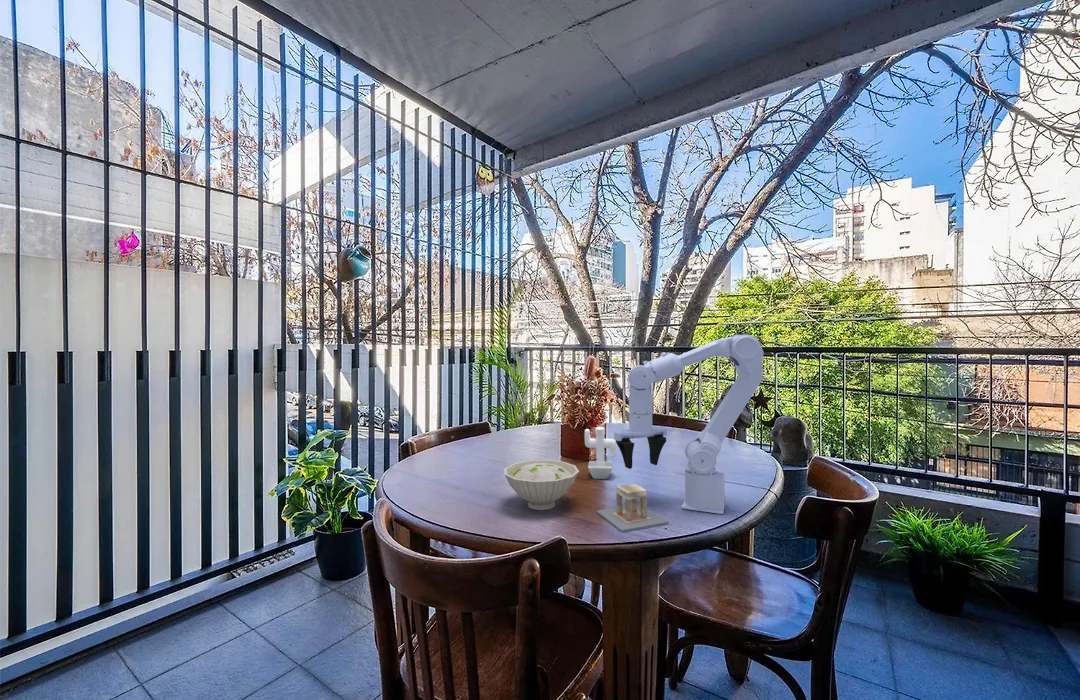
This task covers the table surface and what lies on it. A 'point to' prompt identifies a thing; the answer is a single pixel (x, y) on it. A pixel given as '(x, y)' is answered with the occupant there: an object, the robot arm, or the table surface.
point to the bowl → (541, 481)
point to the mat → (636, 522)
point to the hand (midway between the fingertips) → (641, 465)
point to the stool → (631, 500)
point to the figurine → (600, 453)
